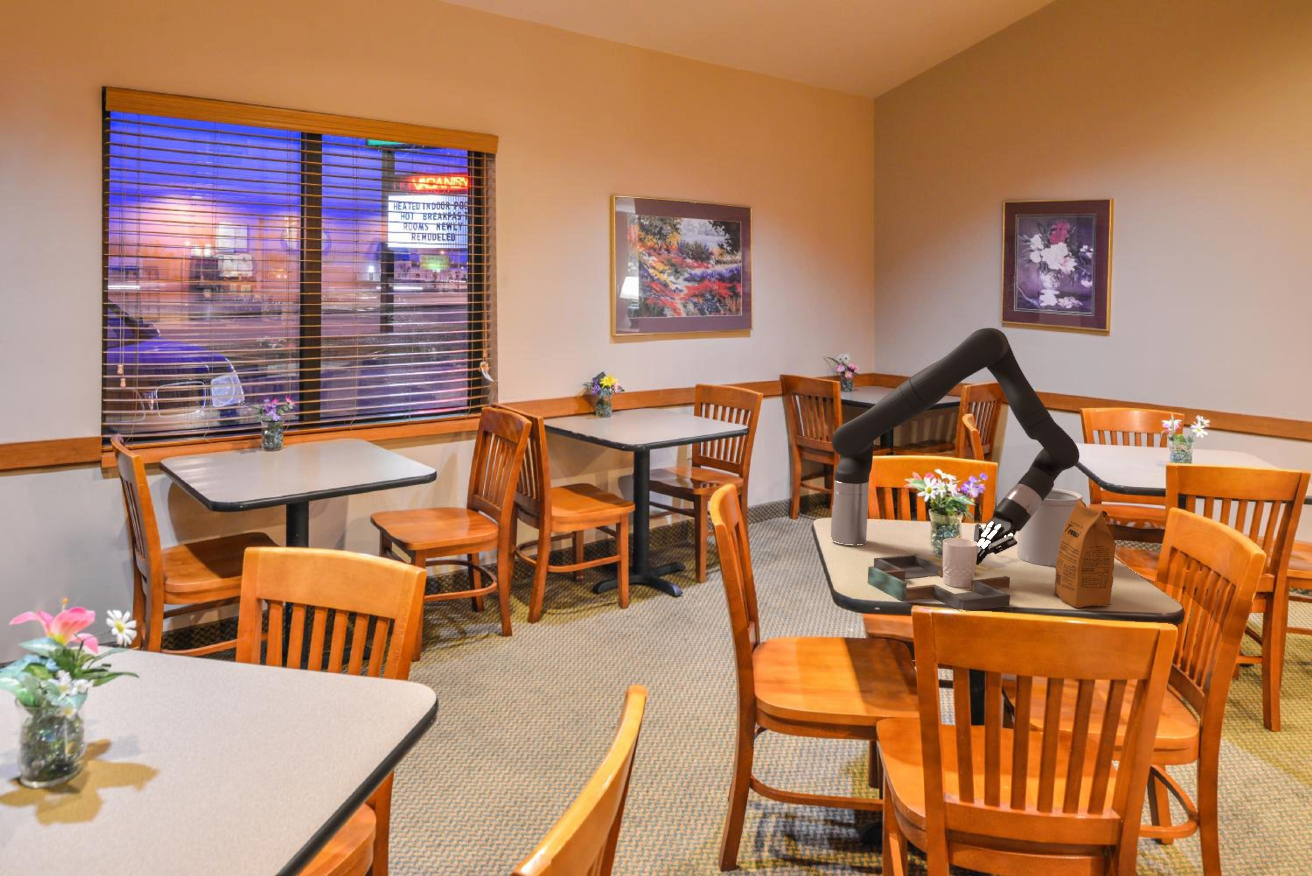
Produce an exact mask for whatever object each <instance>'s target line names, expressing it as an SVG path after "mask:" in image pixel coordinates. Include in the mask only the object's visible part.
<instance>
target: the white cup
mask: <svg viewBox="0 0 1312 876" xmlns="http://www.w3.org/2000/svg"><path fill="white" fill-rule="evenodd" d="M977 551H978V543H977V542H975V541H974V539H968V538H963V537H962V538H960V537H949V538H944V539H942V565H943V577H942V583H943V584H945V585H947V586H948V587H953V588H960V589H961V588H962V589H963V588H971V580H975V574H976V567H977V566H976V561H977Z"/></svg>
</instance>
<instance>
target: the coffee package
mask: <svg viewBox="0 0 1312 876" xmlns="http://www.w3.org/2000/svg"><path fill="white" fill-rule="evenodd" d="M1108 516H1109V514H1108V512H1107V511H1105V509H1101V508H1093V507H1087V504H1086V503H1085V502H1084V501H1083V499H1082V500H1078V502H1077V503H1076V506H1075V508H1074V509H1073V511H1072V513H1071V516H1070V518H1069V520H1068V521H1067V523H1066V525H1065V528H1064V531H1063V533H1062V537H1061V540H1060V545H1059V550H1058V555H1057V559H1056V566H1055V578H1054V579H1055V580H1054V592H1053V594H1054V595H1055V596H1058V597H1059V599H1060V600H1061V602H1063V603H1065V604H1066V605H1069V606H1072V607H1074V608H1077V609H1078V608H1079V609H1080V608H1085V607H1105V606H1110V605H1111V596H1112V590H1113V585H1114V584H1113V583H1114V580H1115V579H1114V569H1115V556H1116V555H1115V554H1116V542H1115V541H1116V540H1115V538H1114V537H1113V535H1112V533H1111V530H1110V529H1109V527H1108V526H1107V524H1106V521H1105V518H1107V517H1108Z"/></svg>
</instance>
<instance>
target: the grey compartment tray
mask: <svg viewBox="0 0 1312 876" xmlns="http://www.w3.org/2000/svg"><path fill="white" fill-rule="evenodd" d="M867 568H868V570H867V584H868V583H869V585H870V586H872V587H874V588H875V589H878V590H879V591H881V592H883V593H885V594H887V595H889V596H891V597H892V598H895V599H897V600H898V601H901V602H904V601H913V600H920V599H922V600H923V599H928V598H932V599H933V598H934V599H936V600H937V601H939V602H941V603H944V604H946V605H947V606H950V607H951V608H954V609H955V608H956V610H958V609H963V610H974V611H980V610H988V609H995V608H1003V607H1010V602H1011V601H1010V600H1011V594H1009V593H1007V592H1004V591H1002V590H1003V589H1004V590H1005V589H1010V587H1011V586H1010V584H1011V577H1010V576H1006V575H1005V576H998V577H997V576H996V577H989V578H979V579H974V580H971V587H970V588H969V589H970V590H969V591H966V592H958V593H954V592H951V591H949V590H948V589H945V588H943V587H941V586H939V585H936V584H927V585H926V584H925V585H917V586H909V587H908V585H907V584H908V583H907V582H905V581H906V580H909V579H918V578H926V577H928V576H929V577H939V576H940V578H943V564H940V563H938V562H936V561H933V560H931V559H928V558H927V557H924V556H922V555H920V554H917V553H913V554H911V553H910V554H901V555H894V556H885V557H884V556H882V557H881V556H880V557H874V558H873V565H872V566H868V567H867Z"/></svg>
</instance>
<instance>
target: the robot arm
mask: <svg viewBox="0 0 1312 876" xmlns="http://www.w3.org/2000/svg"><path fill="white" fill-rule="evenodd" d="M985 368H986V369H987V370H988V371H989V372H990V373H991V375H992V376H993V377H994V379H995V380H996V381H997V383H998V385H999V386H1000V388H1001V390H1002V391H1003V394H1004V397H1005V398H1006V401H1007V404H1008V406H1009V407H1010V410H1011V411H1012V414H1013V416H1014V417H1015V418H1016V421H1017V422H1018V423H1019V425H1020V426H1021V428H1022V430H1023V431H1024V433H1025V434H1026V436H1027V437H1028V438H1029V439H1031V440H1033V441H1037V442H1038V443H1039V444H1040V445H1041V446H1042V449H1041V450H1040V451H1039V453H1038V454H1037V455H1036V457H1035V458H1034V460H1033V461H1032V463H1031V465H1030V466H1029V468H1028V470H1027V472H1025V473H1024V474H1023V476H1022V477H1021V478H1020V479H1019V480H1018V482H1017V483H1016V484H1015V485H1014V486H1013V487H1012V488H1011V489H1010V490H1009V491H1008V492H1007V494H1005V496H1004V497H1003V498H1002V499H1001V501H1000V502H999V503H998V504H997V506H996V507H995V508H994V510H993V511H992V517H991V518H990V519H989V520H987V521H986V523H985V524H979V523H976V524H975V525H974V532H973V533H974V534H973V541H975V542H977V543H978V551H977V561H976V565H977V566H979V564H981V563H982V562H983V561H984V559H986V557H987V556H988V555H990V554H994V555H998V554H999V553H1001V552H1004V551H1005V550H1008V549H1010V548H1013V547H1015V546H1017V540H1016V538H1015V535H1016V533H1018V531H1020V530H1021V529H1022V528H1023V527H1024V526H1025V524H1026V523H1027V522H1028V521H1029V519H1030V518H1031V517H1032V516H1033V514H1034V513H1035V512H1036V511H1037V509H1038V508H1039V506H1040V504H1041V503H1042V502H1043V500H1044V499H1045V498H1046V497H1047V495H1048V494H1049V493H1050V491H1051V490H1052V488H1054V486H1055V481H1056V479H1057V478H1058V477H1059V476H1060V474H1061V473H1062V472H1063V471H1065V470H1069V469H1071V468H1074V467H1075V466H1076V465H1077V464H1078V462H1079V461H1080V451H1079V448H1078V446H1077V444H1076V442H1075V441H1074V440H1073V438H1072V437H1071V436H1070V435H1069V434H1068V433H1067V432H1066V431H1065V430H1064V429H1063V428H1062V427H1061V426H1060V425H1059V424H1057V422H1055V420H1054V418H1053V416H1051V414H1050V412H1049V410H1048V408H1046V406H1045V405H1044V403H1043V401H1042V399H1040V397H1039V396H1038V394H1037V393H1036V390H1034V389H1033V387H1032V385H1031V383H1030V382H1029V381H1028V379H1027V377H1026V376H1025V374H1024V372H1023V370H1022V369H1021V368H1022V367H1020V365H1019V362H1018V361H1017V358H1016V357H1015V354H1014V351H1013V349H1012V347H1011V345H1010V342H1009V340H1008V337H1007V336H1006V334H1005V333H1004V332H1002V331H1001V330H1000V329H998V328H994V327H986V328H985V327H984V328H980V329H977V330H975V331H974V332H972V333H971V334H970V335H969V336H968V337H966V338H965V339H964V340H963V341H961V343H959V345H958V346H956V347H955V348H954V349H953V350H952V351H950V352H949V353H947V355H945V356H944V357H942V358H941V359H939V360H938V361H936V362H934V363H931V364H930V365H928V366H926V367H925V368H923V369H921V370H920V371H918V372H916V373H915V374H913V375H912V376H910V377H909V378H907V379H906V380H905V381H903V382H902V383H901V384H899V385H898V386H896V387H895V388H894V389H893V390H891V391H890V392H889V393H888V394H886V395H885V396H883V398H881V399H880V400H879V401H878V402H877V403H875V404H874V405H873V406H872V407H871V408H869V409H868V410H866V411H865V412H863V413H862V414H860V415H858V416H856V417H855V418H853V419H851V420H850V421H848V422H845V423H842V424H841V425H839V426H838V427H837V428H836V430H835V431H834V433H833V435H832V437H831V438H832V439H831V447H832V449H833V451H834V452H835V453H836V454H837V455H839V458H838V459H839V461H838V463H837V465H836V468H835V470H834V482H833V483H834V485H833V486H834V487H833V504H832V506H831V526H830V529H831V530H830V538H831V537H832V539H831V541H832V540H833V541H836V542H839V543H843V544H853V545H857V544H864V543H865V542H866V543H867V534H868V533H867V530H868V512H869V511H868V510H869V493H870V492H869V491H870V490H869V489H870V488H869V487H870V476H871V472H872V469H873V468H872V467H873V460H874V448H875V445H874V444H875V443H874V442H875V441H876V440H878V438H880V437H881V436H882V435H884V434H885V433H887V432H890V431H891V430H894V429H895V428H897V427H899V426H901V425H903V424H905V423H907V422H910V421H911V420H913V419H915V418H916V417H919V416H920V415H922V414H923V413H924V412H926V411H927V410H929V409H931V408H932V407H933V406H935V405H936V404H937V403H939V402H940V401H941V400H942V399H943V398H944V397H945V396H947V395H948V394H949V393H950V392H951V391H952V390H953V389H954V388H955V387H957V385H959V384H960V383H961V382H962V381H964V380H966V379H967V378H968V377H970V376H972V375H974V374H976V373H978V372H979V371H981V370H983V369H985ZM864 545H865V544H864Z"/></svg>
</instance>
